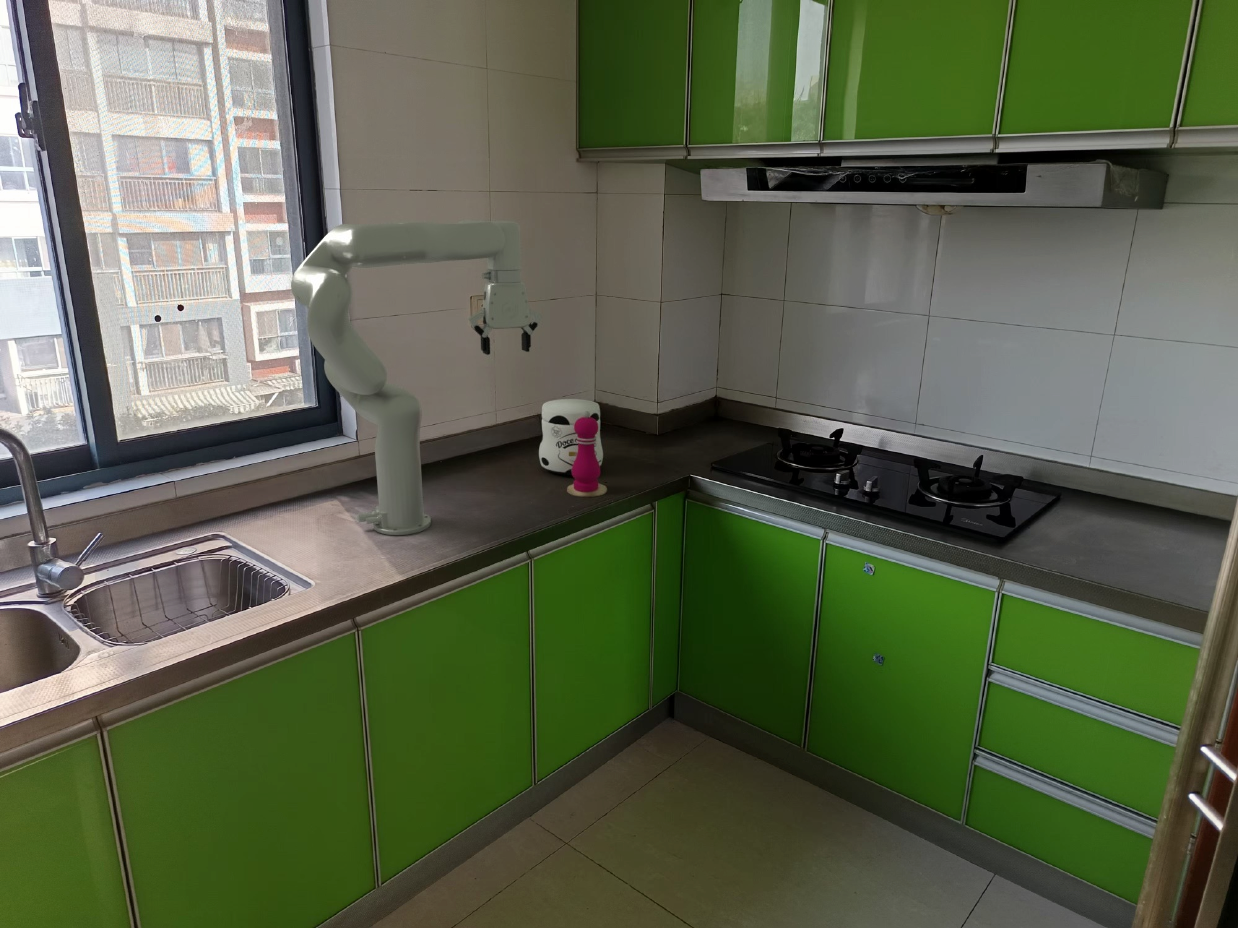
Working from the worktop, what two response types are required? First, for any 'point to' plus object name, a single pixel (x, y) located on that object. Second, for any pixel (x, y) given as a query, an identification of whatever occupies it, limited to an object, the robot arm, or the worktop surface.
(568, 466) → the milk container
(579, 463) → the pepper mill
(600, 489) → the plate
